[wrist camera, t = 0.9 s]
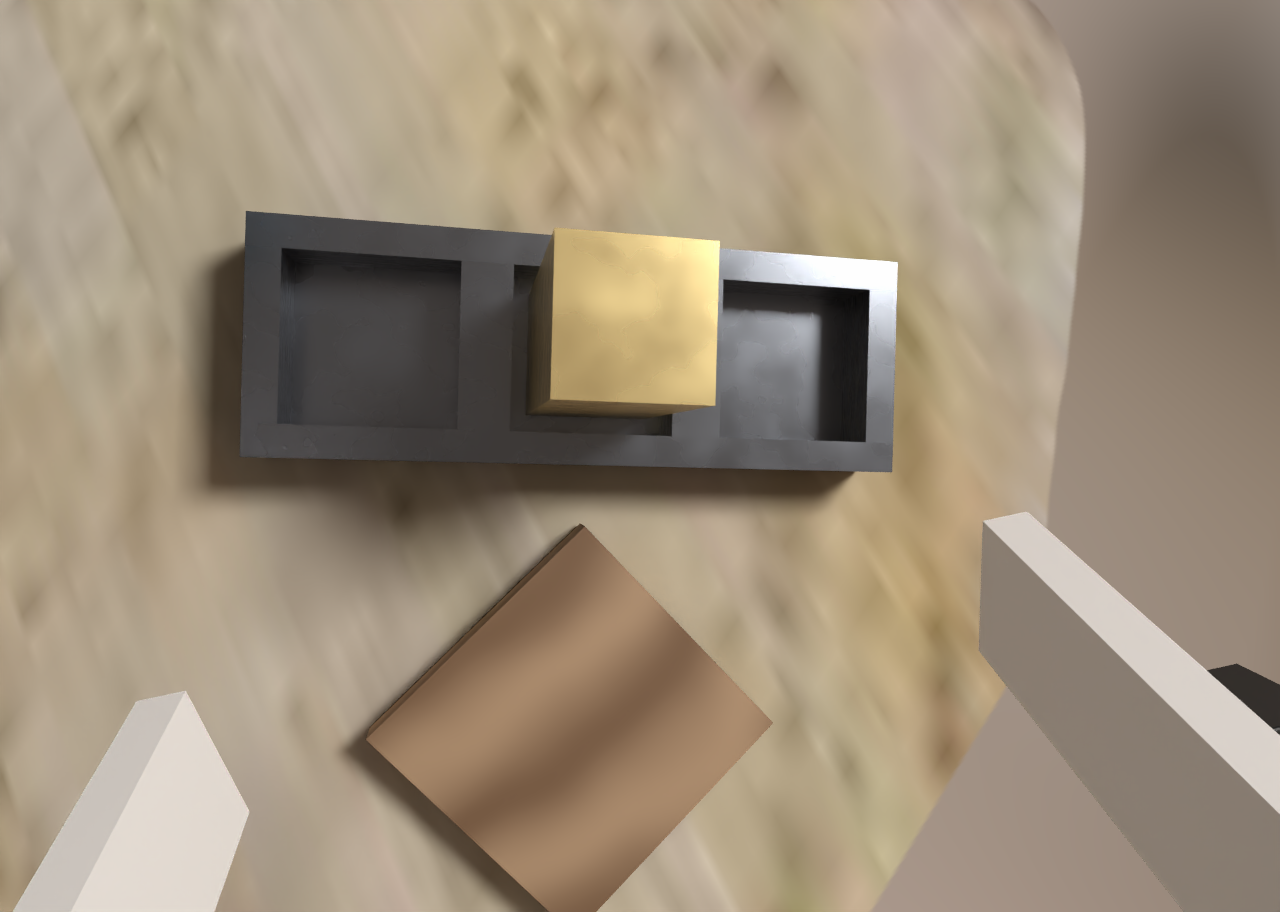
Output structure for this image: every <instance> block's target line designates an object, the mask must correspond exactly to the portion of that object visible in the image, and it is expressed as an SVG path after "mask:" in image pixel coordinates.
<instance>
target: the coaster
mask: <svg viewBox="0 0 1280 912" xmlns="http://www.w3.org/2000/svg"><path fill="white" fill-rule="evenodd" d="M772 724H773V722H772V721H771V720H770V719H769V718H768V717H767V716H766V715H765V714H764V713H763V712H762V711H761V710H760V709H759V708H758V707H757V706H756V705H755V704H754V702H753V701H752V700H751V699H750V698H749V697H748V696H747V695H746V694H745V693H744V692H743V691H742V690H741V689H740V688H739V687H738V686H737V685H736V684H735V683H734V682H733V681H732V680H731V678H730V677H729V676H728V675H727V674H726V673H725V672H724V671H723V670H722V669H721V668H720V667H719V666H718V665H717V664H716V663H715V662H714V661H713V660H712V659H711V658H710V657H709V656H708V654H707V653H706V652H705V651H704V650H703V649H702V648H701V647H700V646H699V645H698V644H697V643H696V642H695V641H694V640H693V639H692V638H691V637H690V636H689V635H688V634H687V633H686V632H685V631H684V629H683V628H682V627H681V626H680V625H679V624H678V623H677V622H676V621H675V620H674V619H673V618H672V617H671V616H670V615H669V614H668V613H667V612H666V611H665V610H664V609H663V608H662V607H661V605H660V604H659V603H658V602H657V601H656V600H655V599H654V598H653V597H652V596H651V595H650V594H649V593H648V592H647V591H646V590H645V589H644V588H643V587H642V586H641V585H640V584H639V583H638V581H637V580H636V579H635V578H634V577H633V576H632V575H631V574H630V573H629V572H628V571H627V570H626V569H625V568H624V567H623V566H622V565H621V564H620V563H619V562H618V561H617V560H616V559H615V558H614V556H613V555H612V554H611V553H610V552H609V551H608V550H607V549H606V548H605V547H604V546H603V545H602V544H601V543H600V542H599V541H598V540H597V539H596V538H595V537H594V536H593V535H592V534H591V532H590V531H589V530H588V529H587V528H586V527H585V526H583V525H582V524H579V525H578V526H577V527H576V528H575V529H574V530H573V531H572V532H571V533H570V534H569V535H568V536H567V537H566V538H565V539H564V540H563V541H561V542H560V543H559V544H558V545H557V546H556V547H555V548H554V549H553V550H552V551H551V552H550V553H549V554H548V555H547V556H546V557H545V558H544V559H543V560H542V561H541V562H540V563H539V564H538V565H537V566H536V567H535V568H534V569H533V570H532V571H531V572H530V573H529V574H528V575H526V576H525V577H524V578H523V579H522V580H521V581H520V582H519V583H518V584H517V585H516V586H515V587H514V588H513V589H512V590H511V591H510V592H509V593H508V594H507V595H506V596H505V597H504V598H503V599H502V600H501V601H500V602H499V603H498V604H497V605H496V606H495V607H494V608H493V609H491V610H490V611H489V612H488V613H487V614H486V615H485V616H484V617H483V618H482V619H481V620H480V621H479V622H478V623H477V624H476V625H475V626H474V627H473V628H472V629H471V630H470V631H469V632H468V633H467V634H466V635H465V636H464V637H463V638H462V639H461V640H460V641H459V642H458V643H456V644H455V645H454V646H453V647H452V648H451V649H450V650H449V651H448V652H447V653H446V654H445V655H444V656H443V657H442V658H441V659H440V660H439V661H438V662H437V663H436V664H435V665H434V666H433V667H432V668H431V669H430V670H429V671H428V672H427V673H426V674H425V675H424V676H423V677H421V678H420V679H419V680H418V681H417V682H416V683H415V684H414V685H413V686H412V687H411V688H410V689H409V690H408V691H407V692H406V693H405V694H404V695H403V696H402V697H401V698H400V699H399V700H398V701H397V702H396V703H395V704H394V705H393V706H392V707H391V708H390V709H389V710H388V711H386V712H385V713H384V714H383V715H382V716H381V717H380V718H379V719H378V720H377V721H376V722H375V723H374V724H373V725H372V726H371V727H370V729H369V732H368V735H367V738H366V740H367V741H368V742H369V743H370V744H371V745H372V746H373V747H374V748H375V749H376V750H377V751H378V752H379V753H380V754H382V755H383V756H384V757H385V758H386V759H387V760H388V761H389V762H390V763H391V764H392V765H393V766H394V767H395V768H396V769H398V770H399V771H400V772H401V773H402V774H403V775H404V776H405V777H406V778H407V779H408V780H409V781H410V782H411V783H412V784H414V785H415V786H416V787H417V788H418V789H419V790H420V791H421V792H422V793H423V794H424V795H425V796H426V797H427V798H428V799H430V800H431V801H432V802H433V803H434V804H435V805H436V806H437V807H438V808H439V809H440V810H441V811H442V812H443V813H444V814H446V815H447V816H448V817H449V818H450V819H451V820H452V821H453V822H454V823H455V824H456V825H457V826H458V827H459V828H460V829H462V830H463V831H464V832H465V833H466V834H467V835H468V836H469V837H470V838H471V839H472V840H473V841H474V842H475V843H476V844H477V845H479V846H480V847H481V848H482V849H483V850H484V851H485V852H486V853H487V854H488V855H489V856H490V857H491V858H492V859H493V860H495V861H496V862H497V863H498V864H499V865H500V866H501V867H502V868H503V869H504V870H505V871H506V872H507V873H508V874H509V875H511V876H512V877H513V878H514V879H515V880H516V881H517V882H518V883H519V884H520V885H521V886H522V887H523V888H524V889H525V890H527V891H528V892H529V893H530V894H531V895H532V896H533V897H534V898H535V899H536V900H537V901H538V902H539V903H540V904H541V905H543V906H544V907H545V908H546V909H547V910H548V911H549V912H596V911H597V910H598V909H599V908H600V907H601V906H602V905H603V904H604V903H605V902H606V901H607V900H608V899H609V897H610V896H611V895H612V894H613V893H614V892H615V891H616V890H617V889H618V888H619V887H620V886H621V885H622V884H623V883H624V881H625V880H626V879H627V878H628V877H629V876H630V875H631V874H632V873H633V872H634V871H635V870H636V869H637V868H638V867H639V865H640V864H641V863H642V862H643V861H644V860H645V859H646V858H647V857H648V856H649V855H650V854H651V853H652V852H653V851H654V849H655V848H656V847H657V846H658V845H659V844H660V843H661V842H662V841H663V840H664V839H665V838H666V837H667V836H668V835H669V833H670V832H671V831H672V830H673V829H674V828H675V827H676V826H677V825H678V824H679V823H680V822H681V821H682V820H683V819H684V817H685V816H686V815H687V814H688V813H689V812H690V811H691V810H692V809H693V808H694V807H695V806H696V805H697V804H698V803H699V801H700V800H701V799H702V798H703V797H704V796H705V795H706V794H707V793H708V792H709V791H710V790H711V789H712V788H713V786H714V785H715V784H716V783H717V782H718V781H719V780H720V779H721V778H722V777H723V776H724V775H725V774H726V773H727V772H728V770H729V769H730V768H731V767H732V766H733V765H734V764H735V763H736V762H737V761H738V760H739V759H740V758H741V757H742V756H743V754H744V753H745V752H746V751H747V750H748V749H749V748H750V747H751V746H752V745H753V744H754V743H755V742H756V741H757V740H758V738H759V737H760V736H761V735H762V734H763V733H764V732H765V731H766V730H767V729H768V728H769V727H770V726H771V725H772Z"/></svg>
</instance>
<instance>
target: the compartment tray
mask: <svg viewBox="0 0 1280 912" xmlns="http://www.w3.org/2000/svg"><path fill="white" fill-rule="evenodd" d="M551 236H552V235H543V234H531V233H518V232H505V231H492V230H480V229H467V228H454V227H442V226H429V225H416V224H404V223H391V222H378V221H365V220H353V219H340V218H327V217H315V216H302V215H289V214H277V213H264V212H251V211H246V230H245V268H244V307H243V346H242V384H241V423H240V457H264V458H306V459H349V460H392V461H434V462H477V463H520V464H562V465H605V466H648V467H690V468H733V469H776V470H819V471H861V472H892V455H893V417H894V378H895V340H896V302H897V264H898V262H886V261H874V260H861V259H848V258H836V257H823V256H810V255H797V254H785V253H772V252H759V251H747V250H734V249H721V248H719V283H718V321H717V359H716V398H715V406H711V407H706V408H701V409H695V410H690V411H684V412H679V413H674V414H668V415H663V416H657V417H652V418H647V419H616V418H588V417H559V416H531V415H525V412H526V373H527V335H528V297H529V294H530V291H531V289H532V286H533V283H534V281H535V278H536V276H537V273H538V270H539V268H540V265H541V262H542V260H543V257H544V255H545V252H546V249H547V247H548V244H549V242H550V239H551Z"/></svg>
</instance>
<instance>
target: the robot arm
mask: <svg viewBox="0 0 1280 912" xmlns="http://www.w3.org/2000/svg"><path fill="white" fill-rule="evenodd" d="M979 651H980V653H981V654H982V655H983V656H984V658H985V659H986V660H987V662H988V663H989V664H990V665H991V667H992V668H993V669H994V670H995V672H996V673H997V674H998V676H999V677H1000V678H1001V679H1002V681H1003V682H1004V683H1005V684H1006V686H1007V687H1008V688H1009V690H1010V691H1011V692H1012V693H1013V695H1014V696H1015V697H1016V698H1017V700H1018V701H1019V702H1020V703H1021V705H1022V706H1023V707H1024V709H1025V710H1026V711H1027V713H1028V714H1029V715H1030V716H1031V718H1032V719H1033V720H1034V721H1035V723H1036V724H1037V725H1038V726H1039V728H1040V729H1041V730H1042V732H1043V733H1044V734H1045V735H1046V737H1047V738H1048V739H1049V741H1050V742H1051V743H1052V744H1053V746H1054V747H1055V748H1056V750H1057V751H1058V752H1059V753H1060V755H1061V756H1062V757H1063V758H1064V760H1065V761H1066V762H1067V764H1068V765H1069V766H1070V767H1071V768H1072V770H1073V771H1074V772H1075V774H1076V775H1077V776H1078V778H1079V779H1080V780H1081V781H1082V783H1083V784H1084V785H1085V787H1086V788H1087V789H1088V790H1089V792H1090V793H1091V794H1092V795H1093V797H1094V798H1095V799H1096V801H1097V802H1098V803H1099V804H1100V805H1101V807H1102V808H1103V809H1104V811H1105V812H1106V813H1107V815H1108V816H1109V817H1110V818H1111V820H1112V821H1113V822H1114V824H1115V825H1116V826H1117V827H1118V829H1119V830H1120V831H1121V832H1122V834H1123V835H1124V836H1125V838H1126V839H1127V840H1128V841H1129V843H1130V844H1131V845H1132V846H1133V848H1134V849H1135V850H1136V852H1137V853H1138V854H1139V855H1140V857H1141V858H1142V859H1143V860H1144V862H1145V863H1146V864H1147V865H1148V867H1149V868H1150V869H1151V871H1152V872H1153V873H1154V875H1155V876H1156V877H1157V878H1158V880H1159V881H1160V882H1161V883H1162V885H1163V886H1164V887H1165V888H1166V890H1167V891H1168V892H1169V894H1170V895H1171V896H1172V897H1173V899H1174V900H1175V901H1176V903H1177V904H1178V905H1179V906H1180V908H1181V909H1182V910H1183V912H1280V685H1279V684H1277V683H1275V682H1273V681H1271V680H1269V679H1267V678H1265V677H1263V676H1261V675H1259V674H1257V673H1255V672H1253V671H1251V670H1249V669H1247V668H1244V667H1242V666H1240V665H1238V664H1234V665H1229V666H1225V667H1221V668H1216V669H1211V670H1205V669H1204V668H1203V667H1202V666H1201V665H1200V664H1199V663H1198V662H1196V661H1195V660H1194V659H1193V658H1192V657H1191V656H1190V655H1189V654H1187V653H1186V652H1185V651H1184V650H1183V649H1182V648H1181V647H1179V646H1178V645H1177V644H1176V643H1175V642H1174V641H1173V640H1172V639H1170V638H1169V637H1168V636H1167V635H1166V634H1165V633H1164V632H1162V631H1161V630H1160V629H1159V628H1158V627H1156V625H1154V624H1153V623H1152V622H1151V621H1150V620H1149V619H1148V618H1147V617H1145V616H1144V615H1143V614H1142V613H1141V612H1140V611H1139V610H1138V609H1136V608H1135V607H1134V606H1133V605H1132V604H1131V603H1130V602H1129V601H1127V600H1126V599H1125V598H1124V597H1123V596H1122V595H1121V594H1119V593H1118V592H1117V591H1116V590H1115V589H1114V588H1113V587H1112V586H1110V585H1109V584H1108V583H1107V582H1106V581H1105V580H1104V579H1103V578H1101V577H1100V576H1099V575H1098V574H1097V573H1096V572H1095V571H1094V570H1092V569H1091V568H1090V567H1089V566H1088V565H1087V564H1086V563H1084V562H1083V561H1082V560H1081V559H1080V558H1079V557H1078V556H1076V555H1075V554H1074V553H1073V552H1072V551H1071V550H1070V549H1069V548H1068V547H1066V546H1065V545H1064V544H1063V543H1062V542H1061V541H1060V540H1058V539H1057V538H1056V537H1055V536H1054V535H1053V534H1051V532H1049V531H1048V530H1047V529H1046V528H1045V527H1044V526H1043V525H1042V524H1040V523H1039V522H1038V521H1037V520H1036V519H1035V518H1034V517H1032V516H1031V515H1030V514H1029V513H1028V512H1023V513H1018V514H1013V515H1009V516H1004V517H999V518H995V519H990V520H985V521H983V532H982V564H981V596H980V627H979ZM248 815H249V810H248V808H247V806H246V804H245V802H244V800H243V799H242V797H241V795H240V793H239V791H238V789H237V787H236V785H235V783H234V781H233V780H232V778H231V776H230V774H229V772H228V770H227V768H226V766H225V764H224V763H223V761H222V759H221V757H220V755H219V753H218V751H217V749H216V747H215V746H214V744H213V742H212V740H211V738H210V736H209V734H208V732H207V730H206V728H205V727H204V725H203V723H202V721H201V719H200V717H199V715H198V713H197V711H196V710H195V708H194V706H193V704H192V702H191V700H190V698H189V696H188V694H187V692H186V691H182V692H178V693H173V694H168V695H164V696H159V697H154V698H150V699H145V700H140V701H136V703H135V705H134V706H133V708H132V710H131V712H130V713H129V715H128V717H127V718H126V720H125V722H124V723H123V725H122V727H121V729H120V730H119V732H118V734H117V735H116V737H115V739H114V740H113V742H112V744H111V746H110V747H109V749H108V751H107V752H106V754H105V756H104V757H103V759H102V761H101V763H100V764H99V766H98V768H97V769H96V771H95V773H94V774H93V776H92V778H91V780H90V781H89V783H88V785H87V786H86V788H85V790H84V791H83V793H82V795H81V797H80V798H79V800H78V802H77V803H76V805H75V807H74V808H73V810H72V812H71V814H70V815H69V817H68V819H67V820H66V822H65V824H64V825H63V827H62V829H61V831H60V832H59V834H58V836H57V837H56V839H55V841H54V842H53V844H52V846H51V848H50V849H49V851H48V853H47V854H46V856H45V858H44V859H43V861H42V863H41V865H40V866H39V868H38V870H37V871H36V873H35V875H34V876H33V878H32V880H31V882H30V883H29V885H28V887H27V888H26V890H25V892H24V893H23V895H22V897H21V899H20V900H19V902H18V904H17V905H16V907H15V909H14V910H13V912H214V911H215V909H216V906H217V903H218V900H219V897H220V894H221V891H222V889H223V886H224V883H225V880H226V877H227V874H228V872H229V869H230V866H231V863H232V860H233V857H234V855H235V852H236V849H237V846H238V843H239V840H240V837H241V835H242V832H243V829H244V826H245V823H246V820H247V818H248Z"/></svg>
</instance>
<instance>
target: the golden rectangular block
mask: <svg viewBox="0 0 1280 912" xmlns="http://www.w3.org/2000/svg"><path fill="white" fill-rule="evenodd" d="M719 244H720V241H714V240H701V239H689V238H676V237H664V236H652V235H639V234H627V233H614V232H602V231H590V230H577V229H565V228H554V231H553V234H552V236H551V239H550V242H549V244H548V247H547V249H546V252H545V255H544V257H543V260H542V262H541V265H540V268H539V270H538V273H537V276H536V278H535V281H534V283H533V286H532V289H531V291H530V294H529V297H528V335H527V373H526V412H525V415H531V416H559V417H588V418H616V419H647V418H652V417H657V416H663V415H668V414H674V413H679V412H684V411H690V410H695V409H701V408H706V407H711V406H715V398H716V359H717V321H718V283H719Z"/></svg>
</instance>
